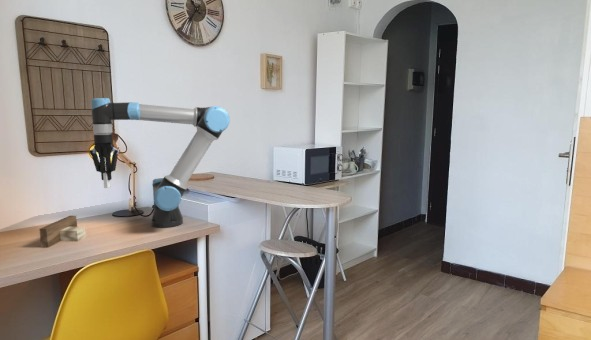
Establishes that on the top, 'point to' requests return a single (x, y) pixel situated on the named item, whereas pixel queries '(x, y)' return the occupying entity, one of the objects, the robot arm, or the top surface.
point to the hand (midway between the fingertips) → (107, 187)
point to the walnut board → (55, 231)
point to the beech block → (72, 234)
